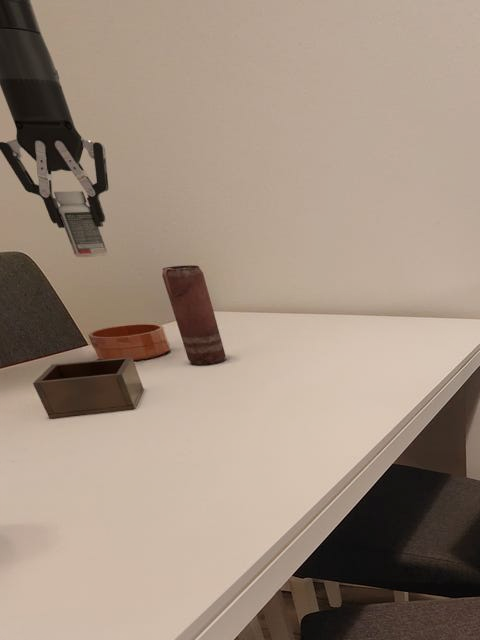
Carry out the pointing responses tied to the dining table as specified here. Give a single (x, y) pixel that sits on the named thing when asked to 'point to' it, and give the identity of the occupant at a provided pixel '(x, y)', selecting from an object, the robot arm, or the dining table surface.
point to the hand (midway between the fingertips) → (81, 226)
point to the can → (194, 314)
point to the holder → (89, 387)
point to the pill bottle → (80, 224)
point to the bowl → (130, 341)
